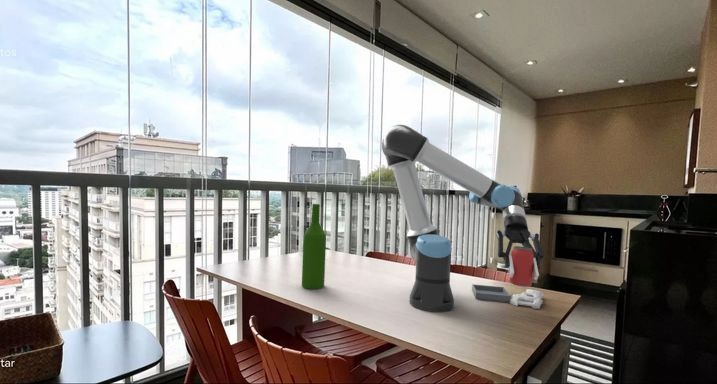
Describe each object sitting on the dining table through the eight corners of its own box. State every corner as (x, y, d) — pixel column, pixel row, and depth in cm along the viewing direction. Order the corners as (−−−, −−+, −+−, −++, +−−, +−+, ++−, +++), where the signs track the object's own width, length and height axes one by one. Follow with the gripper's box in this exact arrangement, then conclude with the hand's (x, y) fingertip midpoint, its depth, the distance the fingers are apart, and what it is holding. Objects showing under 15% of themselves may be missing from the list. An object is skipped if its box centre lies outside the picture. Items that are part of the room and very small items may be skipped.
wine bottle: (315, 281, 142) (318, 203, 142) (328, 286, 135) (331, 204, 135) (297, 285, 136) (300, 203, 136) (310, 290, 129) (313, 204, 129)
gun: (516, 284, 136) (544, 289, 131) (516, 293, 136) (544, 298, 131) (509, 298, 120) (541, 304, 115) (509, 308, 121) (541, 314, 115)
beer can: (535, 287, 108) (538, 250, 108) (514, 286, 108) (517, 248, 108) (525, 282, 115) (528, 246, 115) (506, 281, 115) (508, 245, 115)
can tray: (475, 299, 126) (476, 292, 126) (471, 290, 137) (472, 284, 137) (510, 302, 123) (510, 295, 123) (503, 293, 135) (503, 287, 135)
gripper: (541, 229, 124) (554, 286, 108) (485, 225, 128) (489, 279, 112) (547, 216, 119) (561, 273, 103) (488, 212, 123) (493, 266, 107)
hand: (524, 276), depth 108 cm, fingers closed on beer can, 6 cm apart
